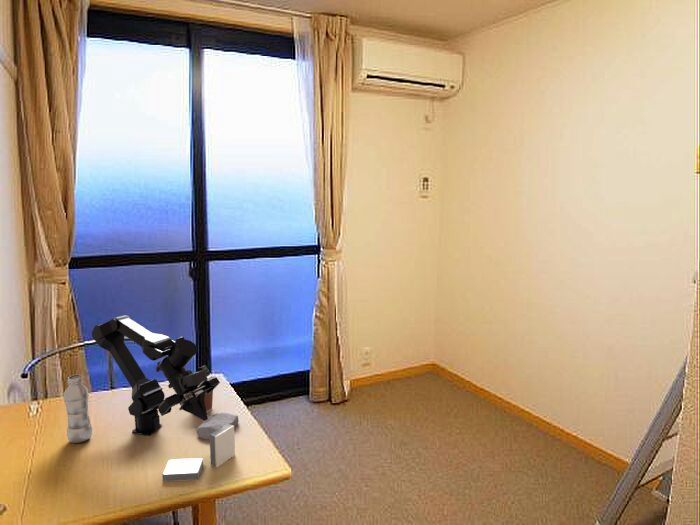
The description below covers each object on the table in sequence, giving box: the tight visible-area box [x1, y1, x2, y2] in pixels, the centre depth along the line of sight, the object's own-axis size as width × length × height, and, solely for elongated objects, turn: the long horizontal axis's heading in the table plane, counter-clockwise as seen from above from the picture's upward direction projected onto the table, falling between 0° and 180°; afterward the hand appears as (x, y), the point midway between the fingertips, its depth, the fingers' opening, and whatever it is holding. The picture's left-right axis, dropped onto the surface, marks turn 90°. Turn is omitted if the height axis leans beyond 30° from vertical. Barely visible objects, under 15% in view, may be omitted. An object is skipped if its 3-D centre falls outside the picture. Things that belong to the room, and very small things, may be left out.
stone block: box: [196, 412, 240, 440], centre depth 157 cm, size 12×5×10 cm
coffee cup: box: [192, 373, 214, 413], centre depth 170 cm, size 9×9×12 cm
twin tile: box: [161, 457, 204, 482], centre depth 134 cm, size 9×7×2 cm
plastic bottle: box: [62, 374, 93, 444], centre depth 148 cm, size 6×7×20 cm
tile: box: [209, 424, 236, 468], centre depth 140 cm, size 2×7×9 cm, turn 150°
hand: (206, 419), depth 142 cm, fingers closed
